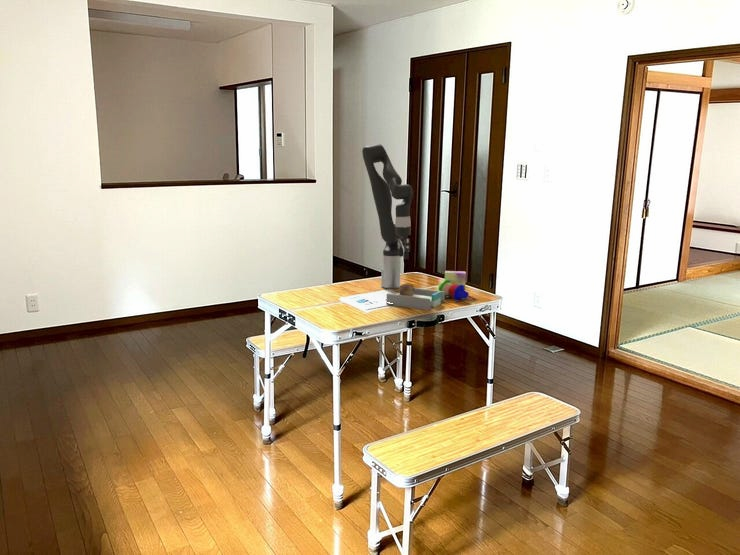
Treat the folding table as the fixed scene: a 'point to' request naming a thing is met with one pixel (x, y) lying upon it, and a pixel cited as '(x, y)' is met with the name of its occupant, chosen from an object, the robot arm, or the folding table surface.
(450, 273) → the box
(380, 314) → the folding table surface
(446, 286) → the toy figure
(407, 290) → the walnut block
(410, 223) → the robot arm
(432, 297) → the trap track
